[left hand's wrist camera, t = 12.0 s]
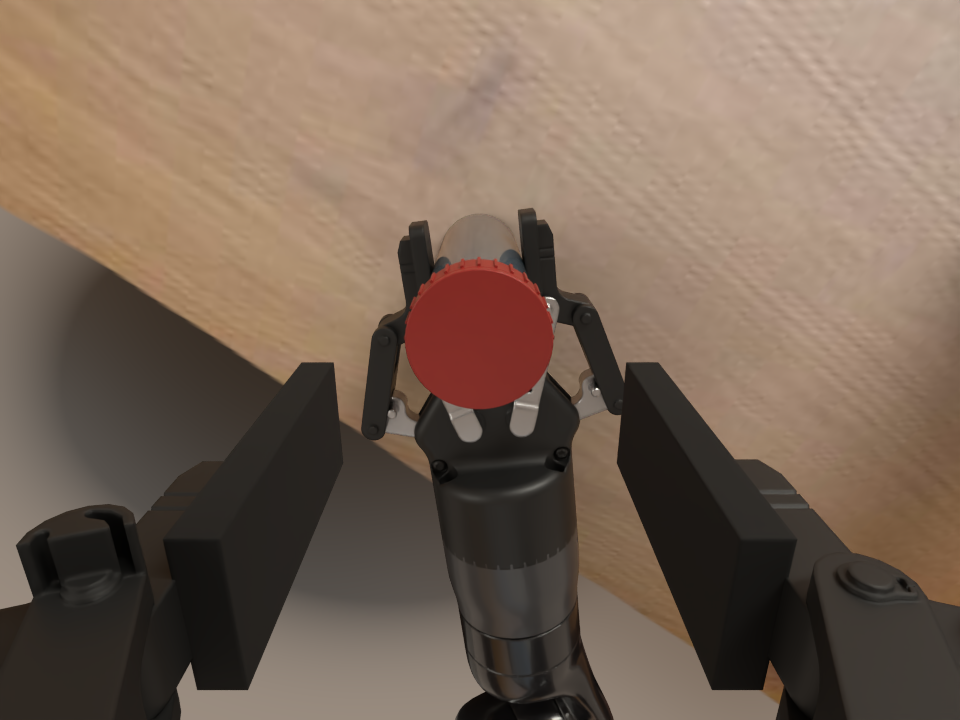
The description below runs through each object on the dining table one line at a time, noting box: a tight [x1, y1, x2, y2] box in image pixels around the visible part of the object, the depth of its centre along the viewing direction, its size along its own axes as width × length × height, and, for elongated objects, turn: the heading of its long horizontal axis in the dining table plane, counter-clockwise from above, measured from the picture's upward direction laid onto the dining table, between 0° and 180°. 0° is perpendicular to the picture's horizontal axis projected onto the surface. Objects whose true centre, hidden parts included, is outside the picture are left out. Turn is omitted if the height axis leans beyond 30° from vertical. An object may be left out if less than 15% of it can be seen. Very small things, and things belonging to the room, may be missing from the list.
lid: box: [404, 257, 554, 409], centre depth 20 cm, size 5×5×2 cm
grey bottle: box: [430, 214, 529, 279], centre depth 27 cm, size 4×4×15 cm
